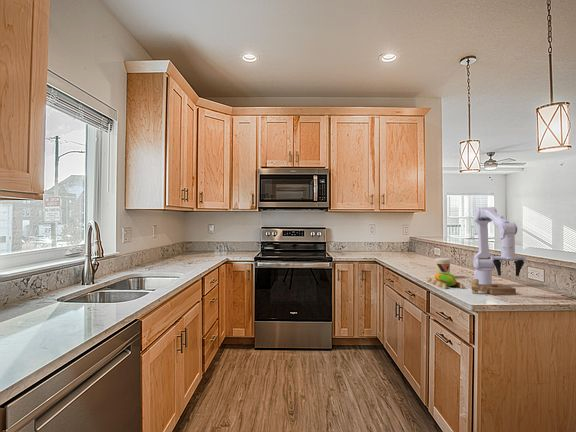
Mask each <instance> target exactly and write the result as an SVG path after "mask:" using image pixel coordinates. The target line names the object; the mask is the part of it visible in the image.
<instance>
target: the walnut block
mask: <svg viewBox="0 0 576 432" xmlns="http://www.w3.org/2000/svg"><path fill="white" fill-rule="evenodd" d="M478 291H479V292H483V293H486V294H488V295H491V296H505V295H507V296H509V295H510V296H511V295H512V296H513V295H514V296H515V295H517V288H515V287H512V286H509V285H505V284H502V283H492V284H479V290H478Z"/></svg>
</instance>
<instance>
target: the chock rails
mask: <svg viewBox="0 0 576 432" xmlns="http://www.w3.org/2000/svg"><path fill="white" fill-rule="evenodd" d="M426 282H428V283H430V284H433V285H434V286H437V287H439V288H442V289H444V290H447V288H448V287H447V285H446V284H444V283H442V282H440V281H437V280H436V279H434V278H432V277H430V276H426ZM453 287H457V288H458V289H463V290H464V283H462V282H458V281H457V282H456V285H454V286H453Z"/></svg>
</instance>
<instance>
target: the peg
mask: <svg viewBox="0 0 576 432" xmlns="http://www.w3.org/2000/svg"><path fill="white" fill-rule="evenodd" d="M470 288H471V291H472V292H471V293H472V294H473V295H478V294H479V291H480V290H479V280H478V279H474V278H472V279H471V287H470Z"/></svg>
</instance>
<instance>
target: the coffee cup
mask: <svg viewBox="0 0 576 432" xmlns="http://www.w3.org/2000/svg"><path fill="white" fill-rule="evenodd" d="M434 267H435V268H434V269H435V275H436V274H445V273H442V272H447V273H450V274H451V272H450V270H451V259H450V258H447V257H436V258H434Z"/></svg>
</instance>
